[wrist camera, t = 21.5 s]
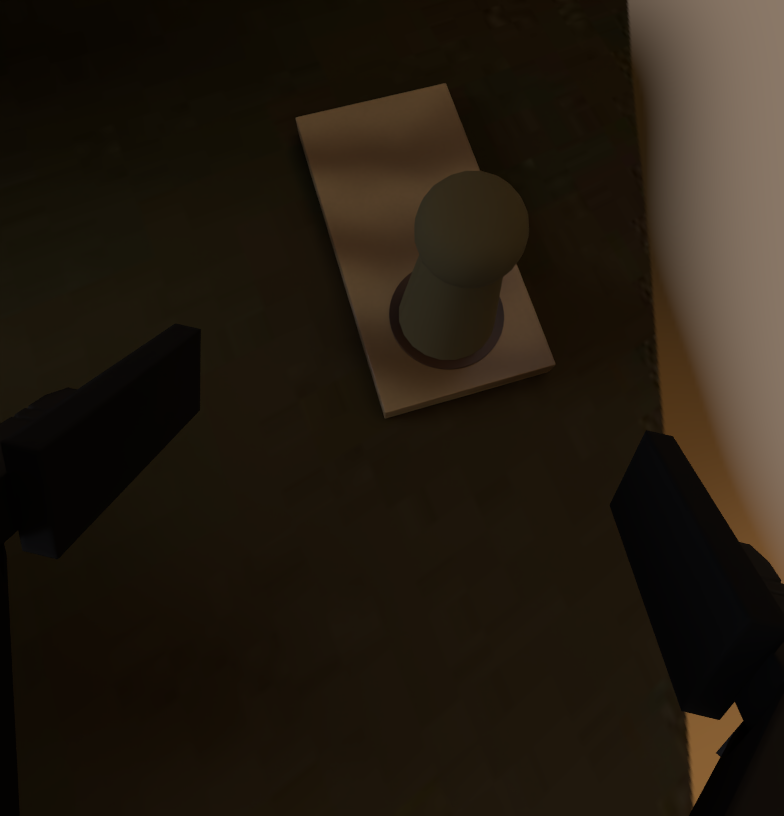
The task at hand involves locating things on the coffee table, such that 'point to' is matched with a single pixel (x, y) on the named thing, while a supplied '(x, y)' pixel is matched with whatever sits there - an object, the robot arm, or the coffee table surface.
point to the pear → (461, 263)
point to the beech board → (406, 243)
